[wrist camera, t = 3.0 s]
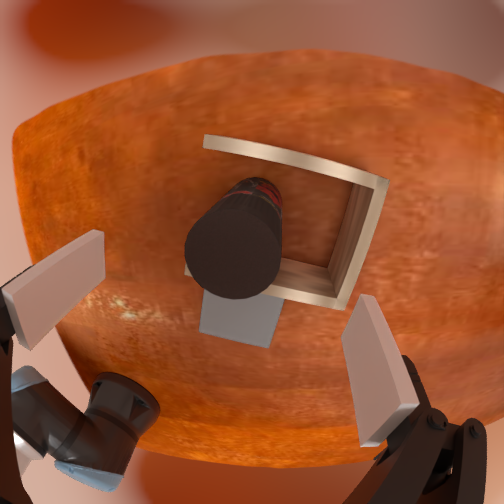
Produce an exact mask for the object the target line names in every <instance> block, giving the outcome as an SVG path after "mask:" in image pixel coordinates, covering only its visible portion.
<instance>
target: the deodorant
mask: <svg viewBox="0 0 504 504" xmlns="http://www.w3.org/2000/svg"><path fill="white" fill-rule="evenodd" d="M281 250H282V199H281V195H280V193H279V191H278V189H277V188H276V187H275V185H273V184H272V183H271V182H269V181H268V180H265V179H263V178H257V177H253V178H247V179H245V180H242V181H240V182H239V183H238V184H237V185H235V186H234V187H233V188H232V189H231V190H230V191H229V192H228V193H227V194H226V195H225V196H224V197H222V198H221V199H220V200H219V201H218V202H217V203H216V204H215V205H214V206H213V207H212V208H211V209H210V210H209V211H208V212H207V213H205V214H204V215H203V216H202V217H201V218H200V219H199V220H198V221H197V222H196V223H195V224H194V226H193V227H192V229H191V230H190V232H189V233H188V236H187V239H186V242H185V260H186V264H187V267H188V269H189V271H190V273H191V275H192V277H193V278H194V279H195V280H196V282H197V283H198V284H199V285H200V286H201V287H202V288H204V289H205V290H207V291H208V292H210V293H211V294H214V295H216V296H219V297H221V298H226V299H233V300H236V299H247V298H250V297H253V296H256V295H258V294H260V293H261V292H263V291H264V290H266V289H267V288H268V287H269V286H270V285H271V284H272V282H273V281H274V280H275V278H276V276H277V274H278V272H279V269H280V263H281Z"/></svg>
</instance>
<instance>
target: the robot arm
mask: <svg viewBox="0 0 504 504" xmlns="http://www.w3.org/2000/svg"><path fill="white" fill-rule="evenodd" d="M105 278H106V277H105V256H104V232H102V231H98V230H94V229H93V230H91V231H89V232H87V233H86V234H84V235H82V236H80V237H79V238H77V239H75V240H74V241H72V242H70V243H69V244H67V245H65V246H64V247H62V248H61V249H59V250H57V251H56V252H54V253H53V254H51V255H50V256H48V257H46V258H45V259H43V260H42V261H40V262H39V263H37V264H35V265H33V266H30V267H28V268H27V269H25V270H24V271H23V272H22V273H20V274H18V275H17V277H14V278H13V279H11V280H10V281H8V282H7V283H6V284H4V285H3V286H1V287H0V504H33V502H32V501H31V499H30V497H29V495H28V494H27V492H26V491H25V489H24V487H23V484H22V481H21V477H22V475H23V473H24V472H25V470H26V468H27V467H28V465H29V463H30V462H31V460H38V459H43V458H44V456H45V455H46V453H48V454H50V455H51V456H53V457H54V458H55V459H56V460H55V467H56V468H57V469H58V470H60V471H61V472H63V473H64V474H66V475H68V476H69V477H71V478H73V479H75V480H77V481H79V482H81V483H83V484H86V485H88V486H90V487H93V488H96V489H98V490H101V491H105V492H113V491H115V490H116V489H117V487H118V485H119V483H120V482H121V480H122V478H124V473H125V471H126V468H127V466H128V463H129V461H130V459H131V456H132V454H133V451H134V449H135V447H136V444H137V442H138V440H139V438H140V437H141V436H142V435H143V434H144V433H145V432H146V431H147V430H148V429H149V428H150V427H151V426H152V425H153V424H154V423H155V422H156V420H157V418H158V415H159V413H160V408H159V405H158V403H157V401H156V400H155V399H154V397H153V396H152V395H151V394H150V393H149V392H148V391H147V390H145V389H144V388H143V387H141V386H140V385H139V384H137V383H135V382H134V381H132V380H130V379H128V378H126V377H124V376H121V375H118V374H115V373H109V372H105V373H101V374H99V375H98V376H97V378H96V379H95V381H94V382H93V385H92V389H91V394H90V399H89V404H88V408H87V410H86V411H85V413H84V414H83V413H82V412H81V411H80V410H79V409H77V408H76V407H75V406H74V405H73V404H72V403H71V402H70V401H68V400H67V399H66V398H65V397H64V396H63V395H62V394H61V393H60V392H59V391H58V390H56V389H55V388H54V387H53V386H52V385H51V384H50V383H49V381H48V380H47V379H45V378H44V377H43V376H42V375H41V374H40V373H39V372H38V371H37V370H36V369H35V368H33V367H32V366H23V367H21V368H20V369H18V370H16V371H15V372H14V373H13V374H12V354H13V340H12V336H13V335H14V334H15V333H16V336H17V338H18V341H19V344H21V345H22V346H24V347H25V348H27V349H28V350H30V351H31V350H32V349H33V348H34V347H35V345H37V344H38V343H39V342H40V341H41V339H42V338H43V337H44V336H45V335H46V334H47V333H48V332H49V331H50V330H51V329H52V328H53V327H54V326H55V325H56V324H57V323H58V322H59V321H60V320H61V319H62V318H63V317H64V316H65V315H66V314H67V313H68V312H70V311H71V310H72V309H73V308H74V307H75V306H76V305H77V304H78V303H79V302H80V301H81V300H82V299H83V298H84V297H85V296H86V295H88V294H89V293H90V292H91V291H92V290H93V289H94V288H95V287H96V286H97V285H98V284H100V283H101V282H102V281H103V280H104V279H105ZM341 341H342V345H343V350H344V355H345V360H346V365H347V370H348V375H349V380H350V385H351V391H352V396H353V402H354V408H355V414H356V420H357V427H358V433H359V440H360V447H372V446H379V445H380V444H381V443H382V442H383V441H384V440H385V439H387V444H388V446H387V447H386V448H385V449H384V450H383V451H382V452H381V453H379V454H378V455H377V456H376V457H375V458H374V459H373V460H376V459H377V458H378V459H377V460H376V462H375V463H374V465H373V466H372V467H371V469H370V470H369V471H368V473H367V474H366V475H365V477H364V478H363V479H362V481H361V482H360V483H359V484H358V486H357V487H356V488H355V489H354V491H353V492H352V493H351V494H350V495H349V497H348V498H347V499H346V500H345V501H344V502H343V504H483V502H484V494H485V483H486V466H487V465H486V464H487V438H486V437H487V435H486V430H485V427H484V426H483V424H482V423H481V422H480V421H479V420H477V419H475V418H469V419H467V420H466V421H465V422H464V423H463V424H462V425H461V426H459V425H455V424H451V423H448V419H447V418H446V416H445V415H444V414H443V413H442V412H441V411H440V410H438V409H435V408H431V405H430V402H429V400H428V397H427V394H426V392H425V389H424V387H423V384H422V382H421V380H420V377H419V375H417V374H418V372H417V370H416V368H415V365H414V364H413V362H412V361H411V360H410V359H409V358H408V357H407V356H406V355H401V354H400V351H399V349H398V347H397V344H396V342H395V340H394V338H393V335H392V333H391V331H390V329H389V326H388V324H387V322H386V320H385V318H384V315H383V313H382V311H381V309H380V307H379V305H378V303H377V301H376V299H375V297H374V296H370V295H366V294H360V296H359V299H358V301H357V303H356V306H355V308H354V310H353V312H352V314H351V317H350V319H349V321H348V323H347V325H346V327H345V329H344V331H343V333H342V336H341ZM452 467H453V469H452V474H451V468H452Z"/></svg>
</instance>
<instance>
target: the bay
mask: <svg viewBox="0 0 504 504" xmlns="http://www.w3.org/2000/svg"><path fill="white" fill-rule="evenodd" d="M202 148H207V149H213V150H219V151H224V152H230V153H235V154H240V155H246V156H250V157H255V158H260V159H265V160H269V161H274V162H278V163H282V164H287V165H291V166H295V167H299V168H303V169H307V170H311V171H315V172H318V173H322V174H326V175H329V176H333V177H336V178H340V179H343V180H347V181H350V182H353V183H354V184H353V187H352V191H351V194H350V198H349V202H348V205H347V208H346V212H345V215H344V218H343V222H342V225H341V228H340V232H339V235H338V238H337V241H336V244H335V247H334V250H333V253H332V256H331V259H330V262H329V265H328V268H325V267H321V266H316V265H312V264H308V263H304V262H299V261H295V260H291V259H286V258H282V257H281V263H280V269H279V272H278V274H277V276H276V278H275V280H274V281H273V282H272V284H271V285H270V286H269V287H268V288H267V289H266V290H264V291H263V292H261V293H262V294H266V295H270V296H275V297H279V298H284V299H289V300H293V301H298V302H303V303H307V304H312V305H317V306H322V307H327V308H332V309H337V310H342V311H344V309H345V307H346V305H347V302H348V300H349V297H350V295H351V293H352V290H353V288H354V285H355V283H356V280H357V278H358V275H359V273H360V270H361V267H362V265H363V262H364V259H365V257H366V254H367V251H368V248H369V246H370V243H371V240H372V237H373V234H374V231H375V228H376V225H377V222H378V219H379V216H380V213H381V209H382V206H383V203H384V200H385V196H386V193H387V189H388V186H389V182H390V180H388V179H386V178H383V177H381V176H378V175H376V174H373V173H370V172H368V171H365V170H361V169H358V168H355V167H352V166H349V165H345V164H342V163H339V162H335V161H332V160H328V159H325V158H321V157H317V156H313V155H310V154H306V153H302V152H298V151H294V150H290V149H285V148H281V147H277V146H272V145H268V144H263V143H258V142H253V141H248V140H243V139H237V138H232V137H226V136H219V135H209V134H205V137H204V142H203V147H202ZM184 275H187V276H191V277H192V275H191V273H190V271H189V269H188V267H187V264H185V274H184Z"/></svg>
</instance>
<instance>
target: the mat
mask: <svg viewBox="0 0 504 504" xmlns="http://www.w3.org/2000/svg"><path fill="white" fill-rule="evenodd" d="M284 300H285V299H284V298H279V297H275V296H270V295H266V294H262V293H260V294H258V295H256V296H253V297H250V298H247V299H236V300H233V299H226V298H221V297H219V296H216V295H214V294H211V293H210V292H208V291H207V290H205V289H204V295H203V302H202V310H201V317H200V325H199V332H201V333H205V334H209V335H213V336H217V337H221V338H225V339H229V340H233V341H237V342H242V343H246V344H251V345H255V346H260V347H265V348H269V346H270V343H271V340H272V337H273V334H274V331H275V328H276V325H277V322H278V318H279V315H280V312H281V309H282V306H283V303H284Z"/></svg>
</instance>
